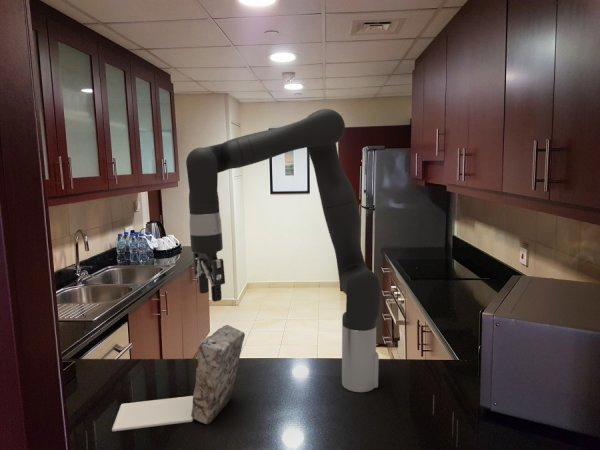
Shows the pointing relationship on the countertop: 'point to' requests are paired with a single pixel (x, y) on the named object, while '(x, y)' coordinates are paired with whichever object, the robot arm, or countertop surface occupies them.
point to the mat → (154, 413)
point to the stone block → (216, 372)
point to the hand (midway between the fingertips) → (210, 296)
